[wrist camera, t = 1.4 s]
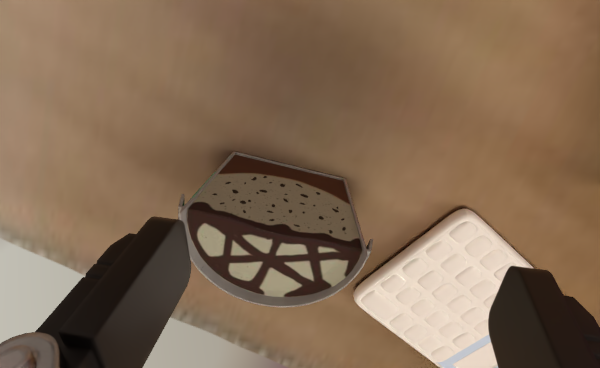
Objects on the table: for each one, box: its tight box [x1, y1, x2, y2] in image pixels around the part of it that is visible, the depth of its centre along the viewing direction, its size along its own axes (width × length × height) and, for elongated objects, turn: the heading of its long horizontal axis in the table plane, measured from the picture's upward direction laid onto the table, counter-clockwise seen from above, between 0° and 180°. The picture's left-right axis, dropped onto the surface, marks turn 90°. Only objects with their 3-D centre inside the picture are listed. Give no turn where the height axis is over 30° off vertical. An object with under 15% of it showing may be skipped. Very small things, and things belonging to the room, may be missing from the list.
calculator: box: [354, 208, 534, 368], centre depth 36 cm, size 13×20×2 cm, turn 48°
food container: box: [178, 151, 373, 307], centre depth 29 cm, size 12×6×10 cm, turn 77°
